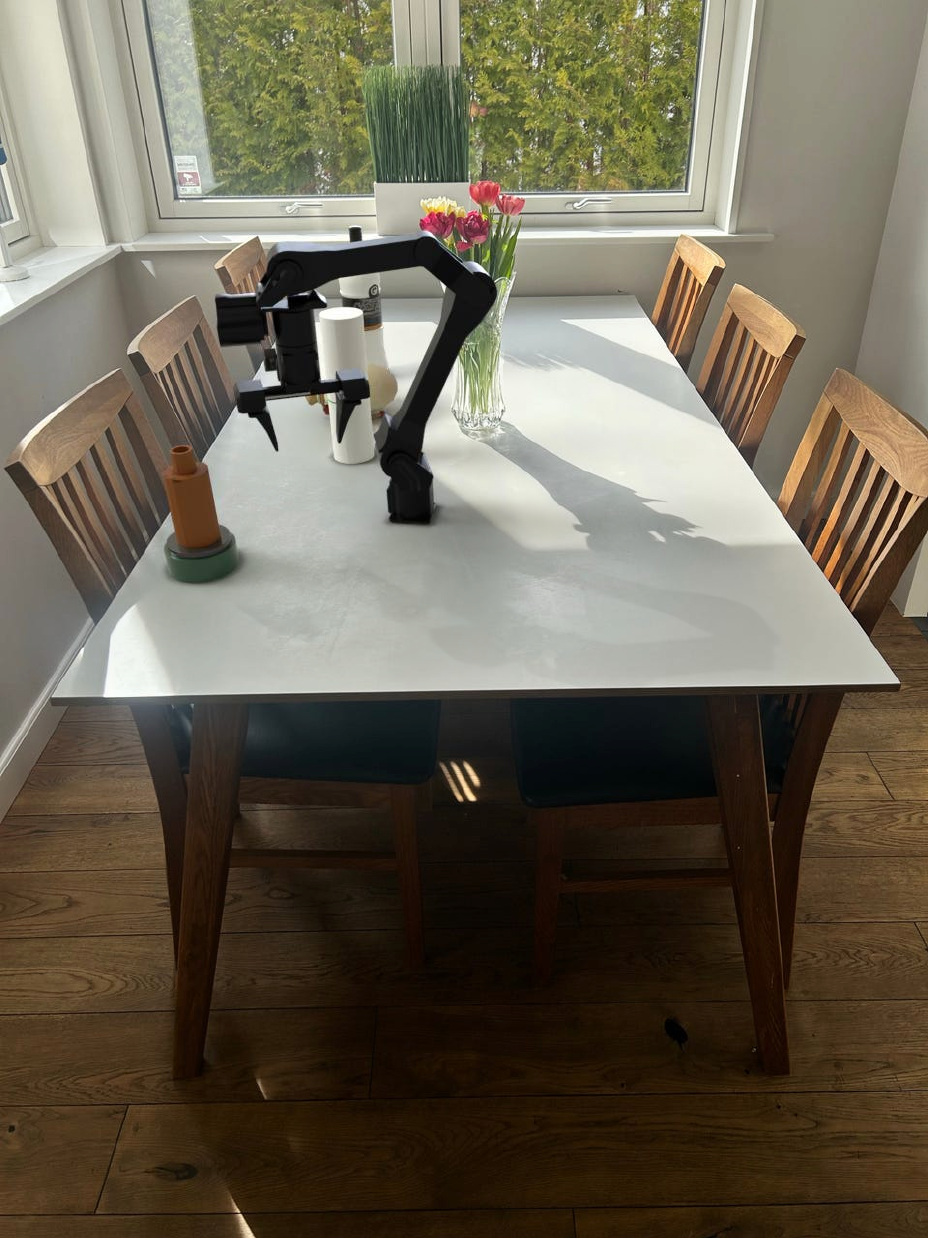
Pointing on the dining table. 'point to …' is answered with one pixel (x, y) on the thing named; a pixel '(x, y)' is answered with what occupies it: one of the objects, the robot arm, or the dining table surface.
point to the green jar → (202, 559)
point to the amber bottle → (190, 499)
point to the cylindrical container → (343, 353)
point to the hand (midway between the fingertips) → (308, 446)
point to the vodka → (366, 306)
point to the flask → (380, 390)
